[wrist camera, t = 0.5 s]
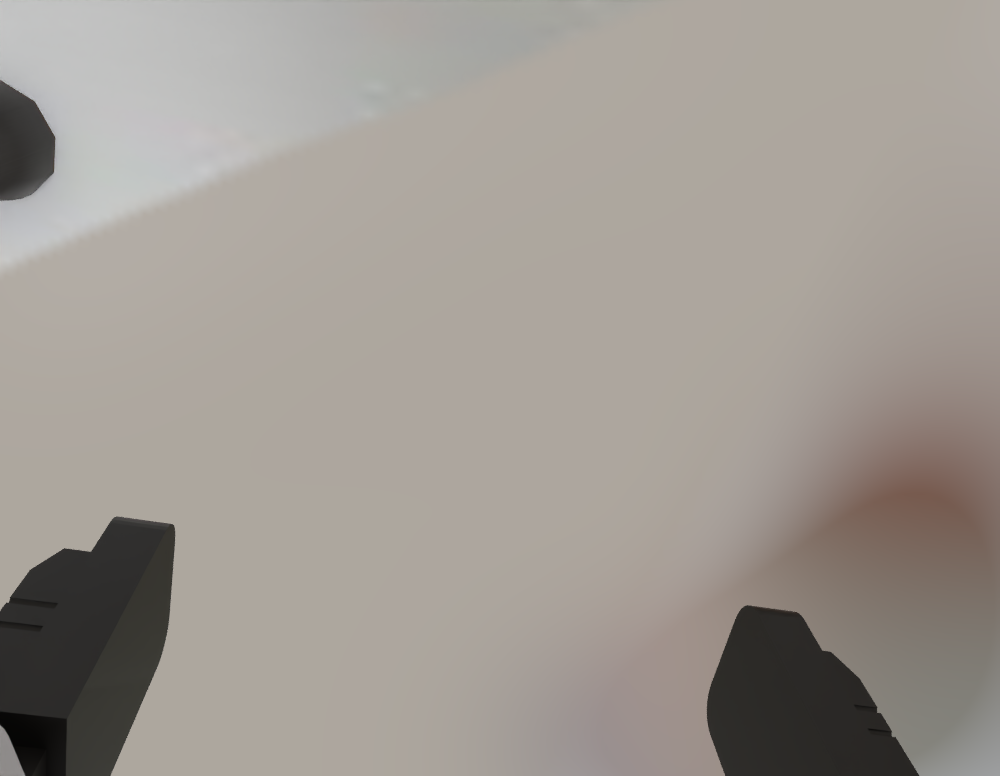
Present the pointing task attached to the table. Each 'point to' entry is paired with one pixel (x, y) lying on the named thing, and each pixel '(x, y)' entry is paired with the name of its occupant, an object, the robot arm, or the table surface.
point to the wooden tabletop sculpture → (23, 145)
